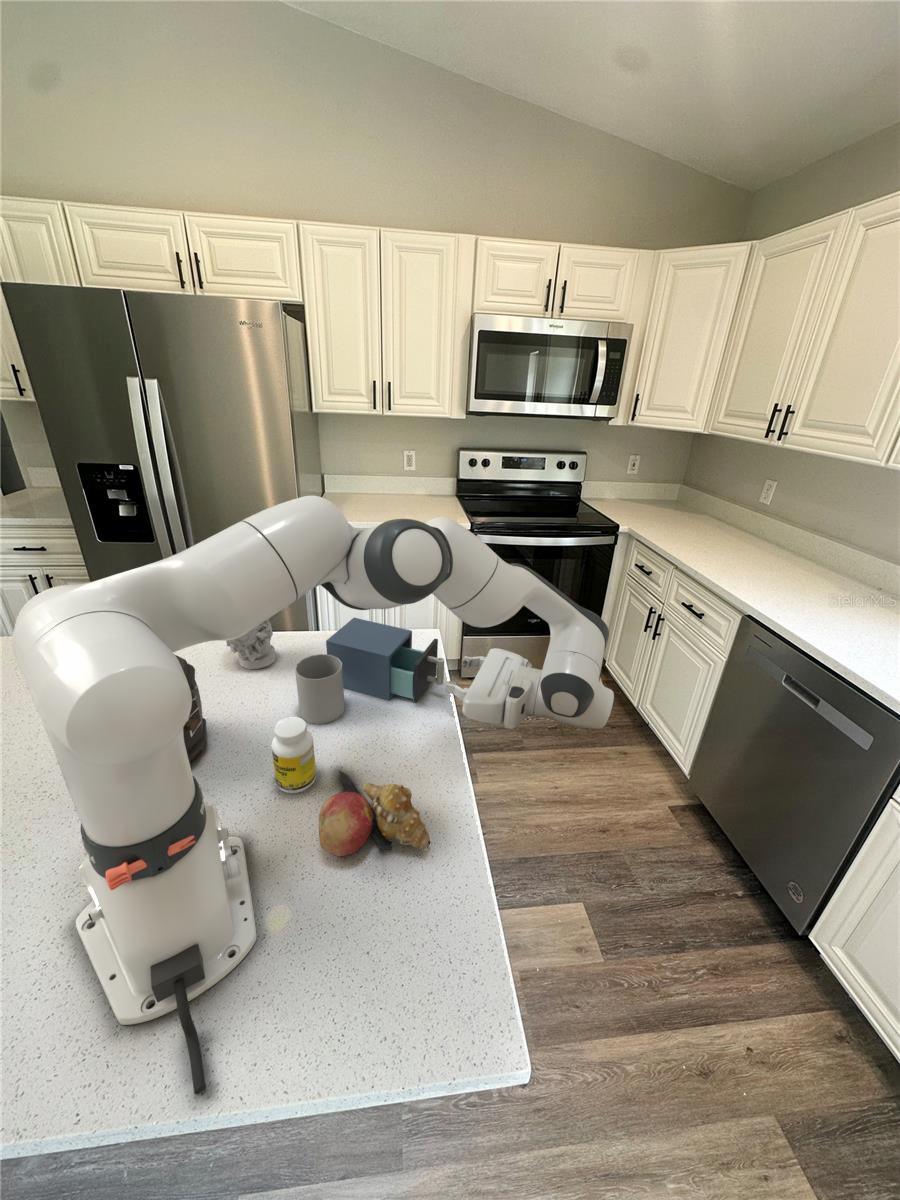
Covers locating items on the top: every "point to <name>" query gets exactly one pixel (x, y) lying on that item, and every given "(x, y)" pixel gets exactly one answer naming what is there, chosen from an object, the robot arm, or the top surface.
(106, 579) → the robot arm
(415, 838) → the seashell
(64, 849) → the top surface
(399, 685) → the drawer with handle
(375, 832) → the knife
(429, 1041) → the top surface
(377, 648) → the blue cabinet
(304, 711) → the cup
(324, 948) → the top surface
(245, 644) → the bust
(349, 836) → the fruit
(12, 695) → the top surface
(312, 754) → the pill bottle
